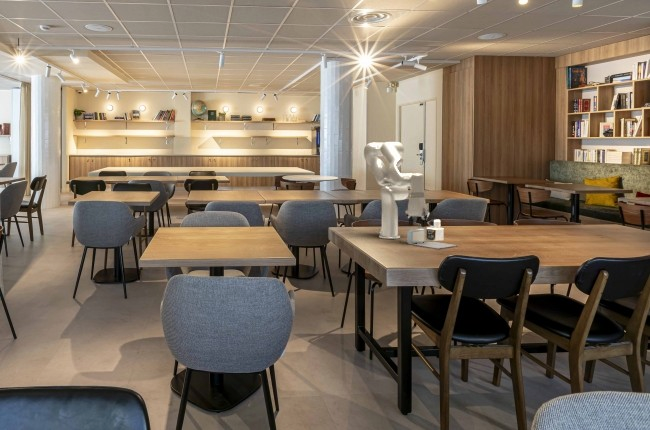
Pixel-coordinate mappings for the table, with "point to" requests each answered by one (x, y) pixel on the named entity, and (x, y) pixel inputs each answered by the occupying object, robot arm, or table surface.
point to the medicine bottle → (435, 231)
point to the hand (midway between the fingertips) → (417, 226)
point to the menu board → (416, 236)
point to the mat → (435, 245)
